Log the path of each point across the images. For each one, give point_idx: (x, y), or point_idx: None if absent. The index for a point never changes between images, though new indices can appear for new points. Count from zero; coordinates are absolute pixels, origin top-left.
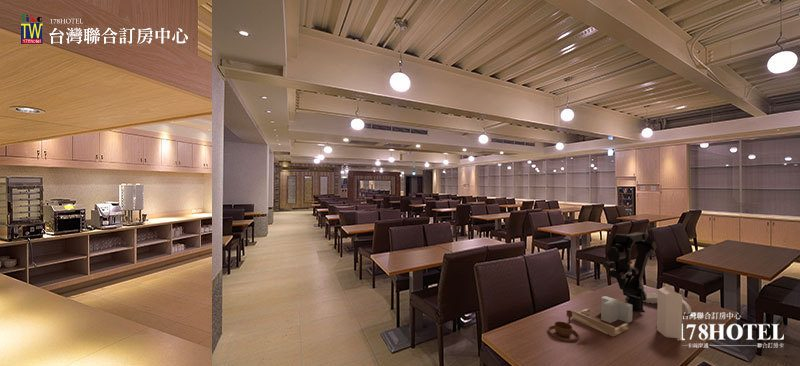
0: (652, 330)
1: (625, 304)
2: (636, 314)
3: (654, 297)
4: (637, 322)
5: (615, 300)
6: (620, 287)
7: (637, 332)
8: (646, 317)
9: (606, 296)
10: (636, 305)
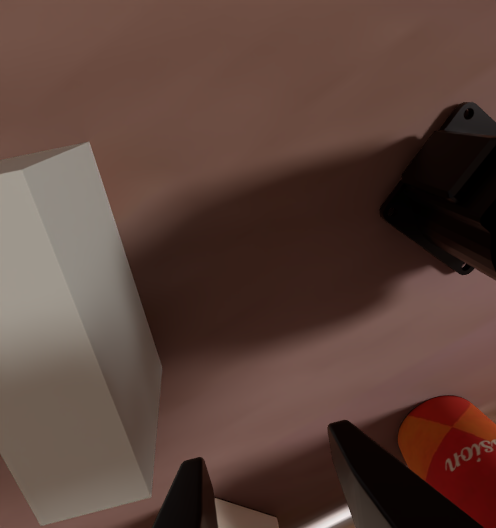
0: (162, 490)
1: (61, 480)
2: (335, 287)
3: None
4: (179, 392)
5: (36, 361)
6: (169, 513)
7: (13, 497)
8: (352, 345)
9: (21, 197)
10: (451, 254)
